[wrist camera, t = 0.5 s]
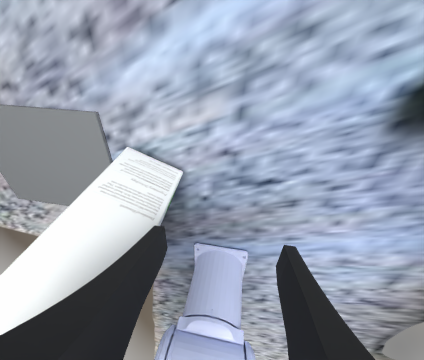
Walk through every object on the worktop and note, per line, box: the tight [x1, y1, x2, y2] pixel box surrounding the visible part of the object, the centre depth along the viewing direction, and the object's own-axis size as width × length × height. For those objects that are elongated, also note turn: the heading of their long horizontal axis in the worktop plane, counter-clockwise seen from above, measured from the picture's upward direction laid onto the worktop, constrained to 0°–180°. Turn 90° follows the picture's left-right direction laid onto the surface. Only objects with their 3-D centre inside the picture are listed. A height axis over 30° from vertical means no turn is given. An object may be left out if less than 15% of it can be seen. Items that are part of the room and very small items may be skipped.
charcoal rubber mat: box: [0, 105, 112, 206], centre depth 23 cm, size 14×18×1 cm
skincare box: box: [0, 147, 183, 335], centre depth 16 cm, size 8×7×16 cm
